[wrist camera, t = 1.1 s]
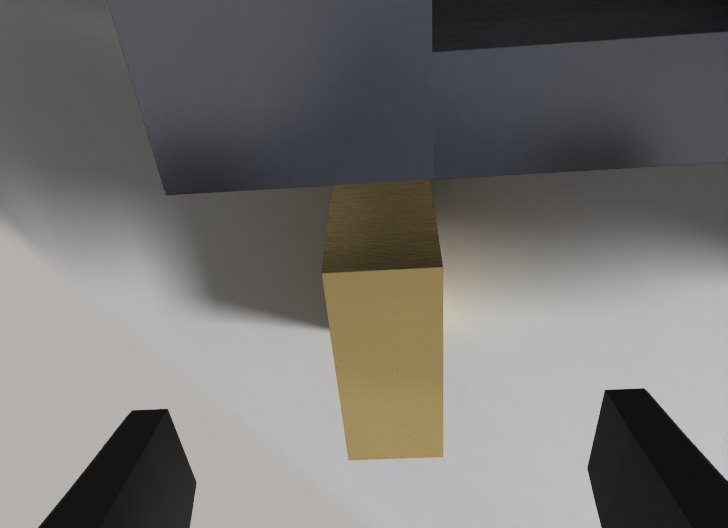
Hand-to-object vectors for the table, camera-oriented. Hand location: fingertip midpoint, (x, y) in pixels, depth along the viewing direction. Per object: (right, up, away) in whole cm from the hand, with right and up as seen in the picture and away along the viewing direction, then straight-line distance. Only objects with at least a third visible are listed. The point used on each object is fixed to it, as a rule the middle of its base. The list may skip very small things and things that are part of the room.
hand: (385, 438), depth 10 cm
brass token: (0, +3, +4) cm, 5 cm away
